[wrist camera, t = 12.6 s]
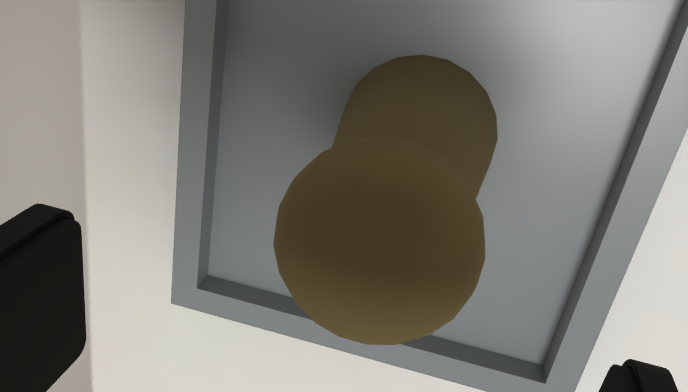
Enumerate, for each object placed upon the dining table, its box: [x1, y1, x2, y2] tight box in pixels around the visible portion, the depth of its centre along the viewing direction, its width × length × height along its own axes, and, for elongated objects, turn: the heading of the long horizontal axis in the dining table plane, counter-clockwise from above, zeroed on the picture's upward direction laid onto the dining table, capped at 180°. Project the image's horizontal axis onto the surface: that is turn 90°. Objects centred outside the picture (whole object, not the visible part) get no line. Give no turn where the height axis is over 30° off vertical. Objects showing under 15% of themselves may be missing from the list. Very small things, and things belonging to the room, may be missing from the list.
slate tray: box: [171, 0, 688, 392], centre depth 23 cm, size 20×18×2 cm
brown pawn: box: [273, 54, 498, 345], centre depth 18 cm, size 6×6×11 cm
